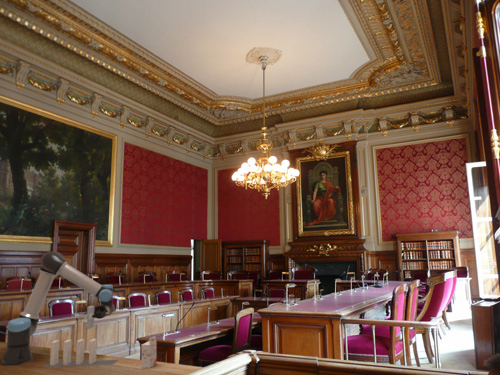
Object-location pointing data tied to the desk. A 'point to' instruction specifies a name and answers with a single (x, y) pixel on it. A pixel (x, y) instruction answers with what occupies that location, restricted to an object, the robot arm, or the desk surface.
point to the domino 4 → (92, 351)
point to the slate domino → (89, 322)
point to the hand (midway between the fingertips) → (87, 317)
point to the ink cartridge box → (149, 353)
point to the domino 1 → (54, 352)
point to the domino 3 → (80, 352)
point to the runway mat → (85, 363)
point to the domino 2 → (67, 352)
